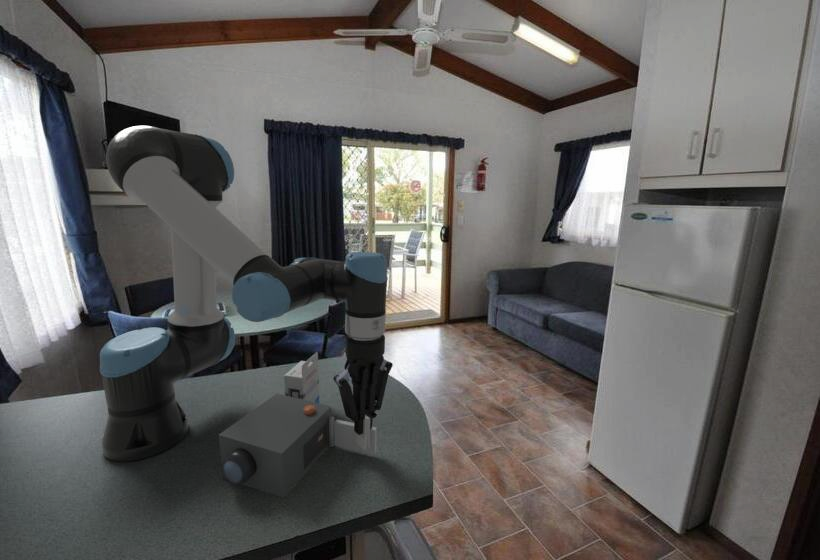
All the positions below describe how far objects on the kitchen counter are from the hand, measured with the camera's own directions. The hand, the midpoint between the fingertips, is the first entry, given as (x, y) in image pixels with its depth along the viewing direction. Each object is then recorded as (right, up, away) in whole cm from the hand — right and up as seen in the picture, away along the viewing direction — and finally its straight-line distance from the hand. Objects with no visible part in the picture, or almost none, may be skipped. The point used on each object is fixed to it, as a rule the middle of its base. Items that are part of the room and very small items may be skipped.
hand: (363, 445), depth 74 cm
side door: (-2, -2, +3) cm, 4 cm away
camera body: (-17, -3, -1) cm, 17 cm away
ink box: (-17, 0, +17) cm, 24 cm away
